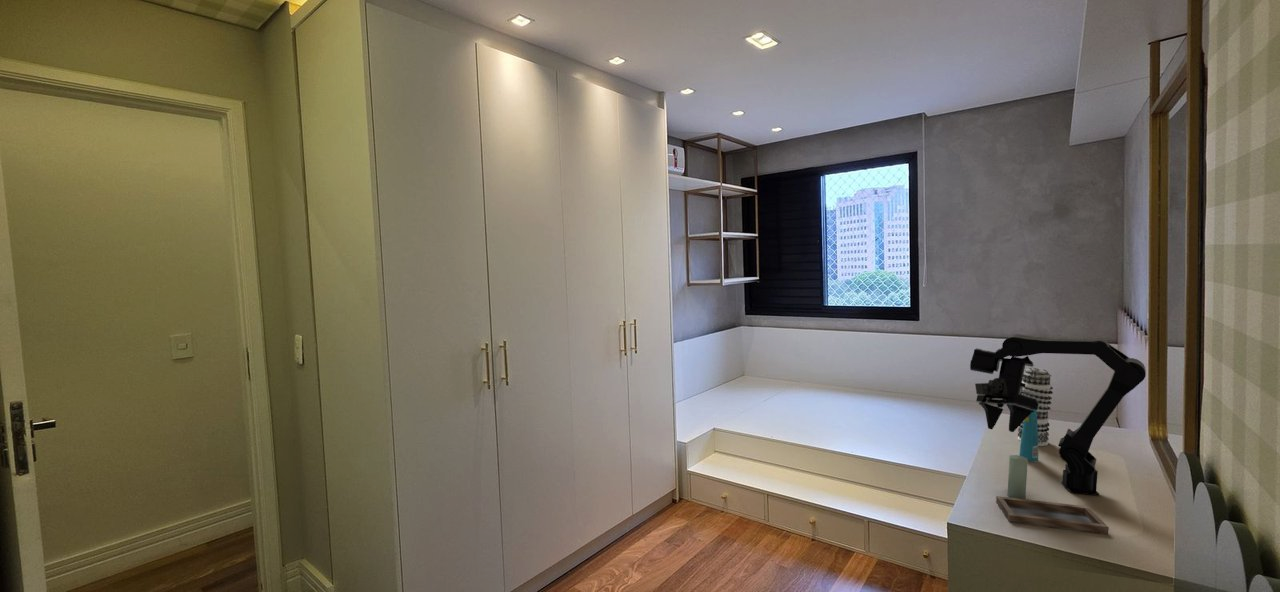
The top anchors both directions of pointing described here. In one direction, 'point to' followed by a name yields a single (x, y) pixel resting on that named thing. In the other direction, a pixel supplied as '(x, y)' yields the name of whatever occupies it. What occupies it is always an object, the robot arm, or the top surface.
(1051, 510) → the brown wooden flat tray
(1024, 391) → the decorative candle
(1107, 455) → the top surface
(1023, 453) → the tube
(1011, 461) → the post
